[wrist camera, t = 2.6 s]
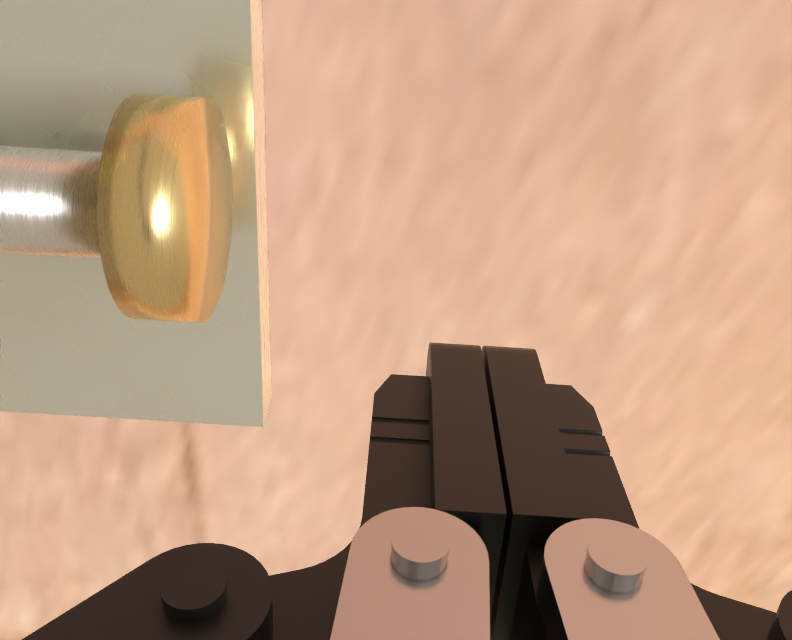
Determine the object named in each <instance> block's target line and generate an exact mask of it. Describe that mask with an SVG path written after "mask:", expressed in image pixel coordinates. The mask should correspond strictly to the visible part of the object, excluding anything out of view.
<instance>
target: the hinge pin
mask: <svg viewBox="0 0 792 640" xmlns="http://www.w3.org/2000/svg"><path fill="white" fill-rule="evenodd" d="M232 214H233V185H232V167H231V157H230V149H229V143H228V137H227V132H226V128H225V124H224V121H223V118H222V115H221V112H220V110H219V108H218V106H217V105H216V103H215V102H214V101H213V100H212V99H210V98H205V97H189V96H173V95H157V94H141V93H134V94H131V95H129V96H128V97H127V98H125V99H124V100H123V101H122V103H121V104H120V105H119V107H118V108H117V110H116V112H115V114H114V116H113V118H112V121H111V123H110V126H109V129H108V132H107V135H106V139H105V143H104V147H103V151H102V152H96V151H80V150H64V149H48V148H32V147H16V146H0V253H3V254H20V255H36V256H52V257H68V258H85V259H101V260H102V266H103V270H104V275H105V279H106V282H107V285H108V288H109V291H110V293H111V296H112V298H113V300H114V302H115V304H116V305H117V307H118V308H119V310H120V311H121V312H122V313H123V314H124V315H125V316H127V317H128V318H131V319H139V320H156V321H172V322H188V323H204V322H206V321H208V319H209V318H210V317H211V316H212V314H213V313H214V311H215V309H216V307H217V304H218V302H219V299H220V296H221V293H222V289H223V285H224V281H225V277H226V272H227V266H228V260H229V253H230V244H231V233H232Z"/></svg>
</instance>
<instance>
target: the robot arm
mask: <svg viewBox="0 0 792 640" xmlns="http://www.w3.org/2000/svg"><path fill="white" fill-rule="evenodd" d="M22 640H792V590H791V591H790V592H788V593H787V594H786V595H785V596H784V597H783V599H782V601H781V603H780V606H779V608H778V610H777V613H775V612H772V611H769V610H765V609H762V608H759V607H756V606H752V605H749V604H746V603H743V602H739V601H736V600H733V599H729V598H726V597H723V596H720V595H717V594H714V593H711V592H709V591H706V590H704V589H702V588H700V587H697V586H695V585H693V584H691V583H690V581H689V579H688V577H687V576H686V574H685V572H684V570H683V568H682V566H681V565H680V563H679V561H678V560H677V558H676V557H675V556H674V555H673V553H672V552H671V551H670V550H669V549H668V548H667V547H666V546H665V545H663V544H662V543H661V542H660V541H658V540H657V539H656V538H654V537H653V536H651V535H650V534H648V533H646V532H644V531H642V530H640V529H639V527H638V524H637V521H636V519H635V516H634V513H633V511H632V508H631V505H630V503H629V500H628V497H627V495H626V492H625V489H624V487H623V484H622V482H621V479H620V476H619V474H618V471H617V468H616V466H615V463H614V460H613V458H612V456H610V450H609V447H608V444H607V442H606V439H605V437H604V436H602V429H601V426H600V423H599V421H598V418H597V415H596V413H595V410H594V407H593V406H592V405H591V404H590V403H589V402H588V401H587V400H585V399H584V398H583V397H582V396H581V395H580V394H579V393H578V392H577V391H576V390H575V389H574V388H573V387H572V386H571V385H555V384H546V383H545V380H544V376H543V373H542V370H541V366H540V363H539V359H538V356H537V353H536V350H535V349H526V348H510V347H494V346H483V348H482V351H481V347H480V346H475V345H460V344H444V343H430V344H429V350H428V359H427V370H426V377H425V376H409V375H393V374H391V375H390V376H389V378H388V379H387V380H386V381H385V382H384V383H383V384H382V385H381V387H380V388H379V389H378V390H377V391H376V392H375V393H374V404H373V414H372V424H371V434H370V444H369V455H368V465H367V475H366V485H365V495H364V505H363V516H362V521H361V526H360V528H359V530H358V531H357V533H356V534H355V536H354V537H353V540H352V542H351V543H350V544H349V545H348V546H347V547H346V548H345V549H344V550H342V551H341V552H340V553H338V554H337V555H335V556H334V557H332V558H330V559H328V560H327V561H325V562H322V563H320V564H317V565H315V566H312V567H308V568H304V569H300V570H296V571H291V572H286V573H281V574H276V575H271V576H268V573H267V571H266V570H265V568H264V567H263V566H262V564H261V563H260V562H259V561H258V560H257V559H256V558H254V557H253V556H252V555H250V554H248V553H247V552H245V551H243V550H240V549H238V548H236V547H232V546H228V545H224V544H215V543H198V544H192V545H185V546H182V547H178V548H174V549H171V550H169V551H166V552H164V553H161V554H159V555H158V556H156V557H154V558H152V559H150V560H149V561H147V562H145V563H144V564H142V565H141V566H139V567H137V568H136V569H134V570H133V571H131V572H129V573H128V574H126V575H125V576H123V577H121V578H120V579H118V580H117V581H115V582H113V583H112V584H110V585H109V586H107V587H105V588H104V589H102V590H101V591H99V592H97V593H96V594H94V595H93V596H91V597H89V598H88V599H86V600H84V601H83V602H81V603H80V604H78V605H76V606H75V607H73V608H72V609H70V610H68V611H67V612H65V613H64V614H62V615H60V616H59V617H57V618H56V619H54V620H52V621H51V622H49V623H48V624H46V625H44V626H43V627H41V628H40V629H38V630H36V631H35V632H33V633H32V634H30V635H28V636H27V637H25V638H24V639H22Z"/></svg>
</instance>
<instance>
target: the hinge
mask: <svg viewBox="0 0 792 640" xmlns="http://www.w3.org/2000/svg"><path fill="white" fill-rule="evenodd" d="M134 93H141V94H157V95H173V96H189V97H205V98H210V99H212V100H213V101H214V102H215V103H216V105H217V106H218V108H219V110H220V112H221V115H222V118H223V121H224V124H225V128H226V132H227V137H228V143H229V149H230V157H231V167H232V185H233V214H232V233H231V244H230V253H229V260H228V266H227V272H226V277H225V281H224V285H223V289H222V293H221V296H220V299H219V302H218V304H217V307H216V309H215V311H214V313H213V314H212V316H211V317H210V318H209V319H208V321H206V322H204V323H188V322H172V321H156V320H139V319H131V318H128V317H127V316H125V315H124V314H123V313H122V312H121V311H120V310H119V308H118V307H117V305H116V304H115V302H114V300H113V298H112V296H111V293H110V291H109V288H108V285H107V282H106V279H105V275H104V270H103V266H102V260H101V259H85V258H68V257H52V256H36V255H20V254H3V253H0V411H9V412H26V413H42V414H59V415H75V416H92V417H108V418H125V419H141V420H158V421H174V422H191V423H207V424H224V425H240V426H257V427H264V424H265V420H266V417H267V414H268V411H269V408H270V404H271V401H272V388H271V347H270V306H269V265H268V224H267V183H266V143H265V102H264V61H263V20H262V0H0V146H16V147H32V148H48V149H64V150H80V151H96V152H102V151H103V147H104V143H105V139H106V135H107V132H108V129H109V126H110V123H111V121H112V118H113V116H114V114H115V112H116V110H117V108H118V107H119V105H120V104H121V103H122V101H123V100H124V99H125V98H127V97H128V96H129V95H131V94H134Z"/></svg>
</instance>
